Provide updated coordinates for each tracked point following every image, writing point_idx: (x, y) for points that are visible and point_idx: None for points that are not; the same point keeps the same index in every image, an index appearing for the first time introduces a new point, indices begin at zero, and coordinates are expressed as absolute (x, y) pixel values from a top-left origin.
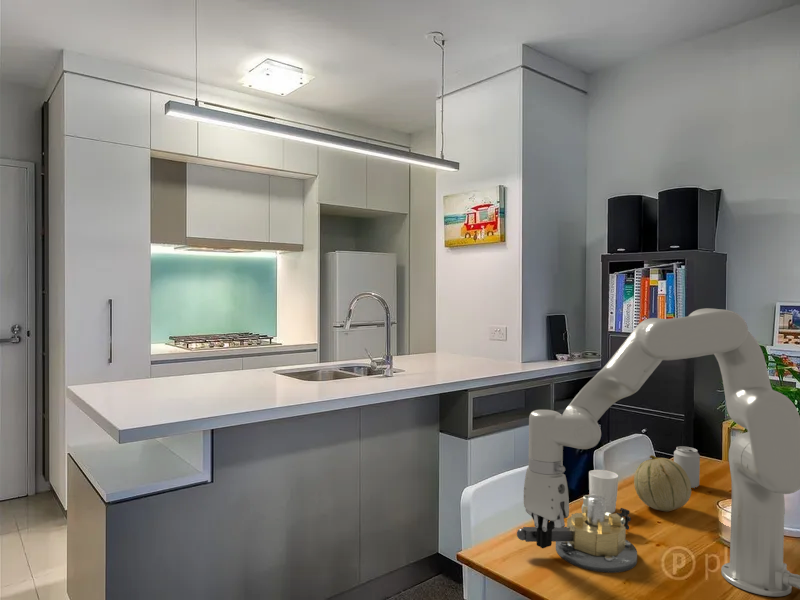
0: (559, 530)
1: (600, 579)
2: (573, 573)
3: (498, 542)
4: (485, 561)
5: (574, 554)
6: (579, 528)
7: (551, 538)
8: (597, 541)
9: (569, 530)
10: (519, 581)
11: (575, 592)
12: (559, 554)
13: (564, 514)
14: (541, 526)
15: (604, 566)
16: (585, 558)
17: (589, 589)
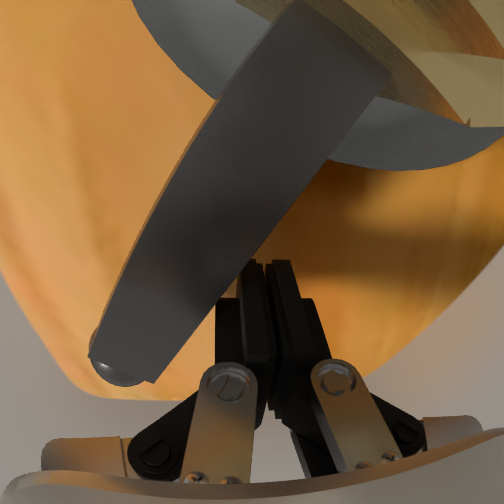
0: (293, 175)
1: (486, 180)
2: (405, 224)
3: (24, 278)
4: (142, 388)
5: (394, 152)
6: (497, 108)
7: (319, 321)
8: None
9: (364, 86)
10: None
11: (441, 309)
12: None
13: (502, 452)
14: (260, 417)
15: None
16: (449, 149)
17: (470, 265)
